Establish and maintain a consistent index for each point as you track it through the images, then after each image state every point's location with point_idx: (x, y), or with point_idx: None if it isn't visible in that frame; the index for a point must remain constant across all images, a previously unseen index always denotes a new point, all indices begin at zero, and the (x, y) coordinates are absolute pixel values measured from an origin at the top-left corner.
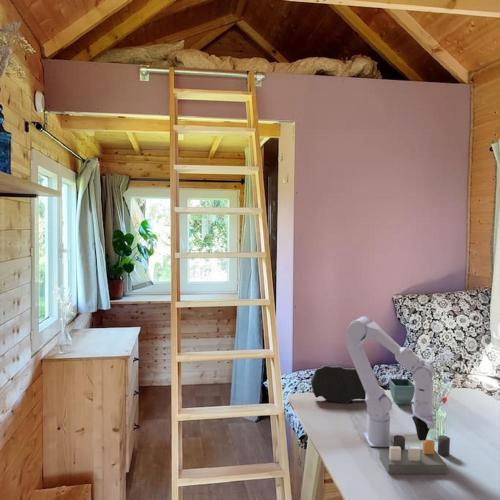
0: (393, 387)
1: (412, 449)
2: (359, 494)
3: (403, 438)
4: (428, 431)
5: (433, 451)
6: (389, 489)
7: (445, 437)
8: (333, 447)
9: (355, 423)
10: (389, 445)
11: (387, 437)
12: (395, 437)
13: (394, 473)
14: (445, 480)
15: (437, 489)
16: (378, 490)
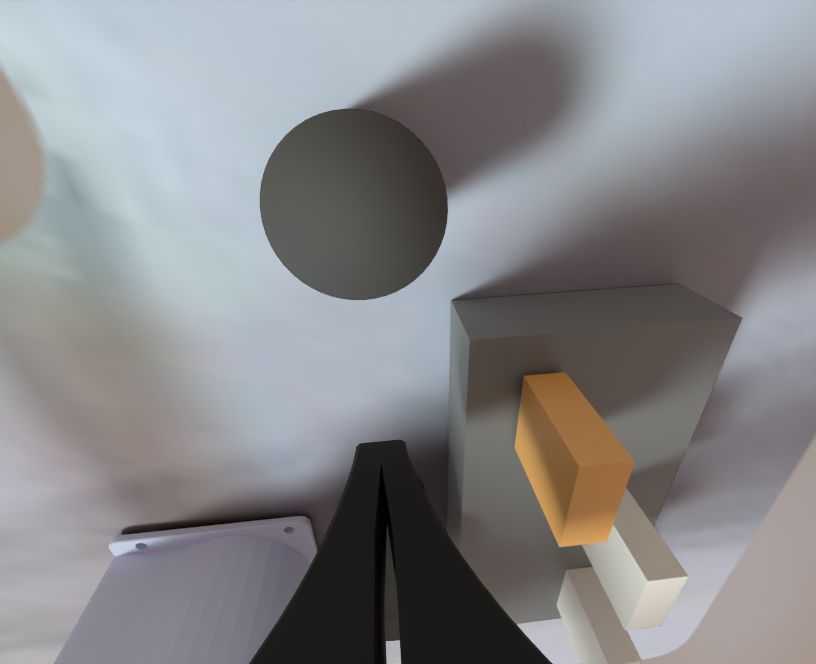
0: None
1: (664, 608)
2: (690, 629)
3: None
4: (444, 532)
5: (575, 394)
6: (700, 561)
7: (332, 181)
8: None
9: (19, 641)
10: (309, 539)
11: (281, 595)
12: (394, 634)
13: None
14: (739, 316)
15: (793, 390)
16: (691, 589)
